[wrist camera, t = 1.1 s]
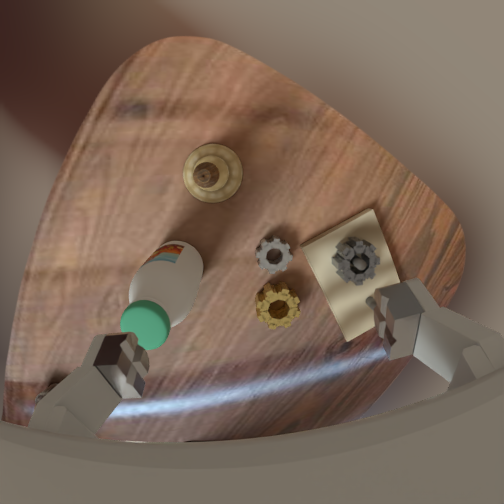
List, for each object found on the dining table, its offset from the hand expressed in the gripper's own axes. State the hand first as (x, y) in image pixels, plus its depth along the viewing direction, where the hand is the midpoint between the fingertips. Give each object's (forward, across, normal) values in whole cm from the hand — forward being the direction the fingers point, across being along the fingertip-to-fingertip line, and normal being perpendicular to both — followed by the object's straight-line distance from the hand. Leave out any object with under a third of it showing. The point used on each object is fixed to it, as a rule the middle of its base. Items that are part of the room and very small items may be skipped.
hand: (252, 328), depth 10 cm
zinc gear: (+32, 0, -16) cm, 36 cm away
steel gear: (+31, +12, -19) cm, 38 cm away
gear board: (+32, +12, -23) cm, 41 cm away
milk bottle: (+32, -14, -15) cm, 37 cm away
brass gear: (+30, -1, -24) cm, 38 cm away
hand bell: (+35, -6, -4) cm, 36 cm away
